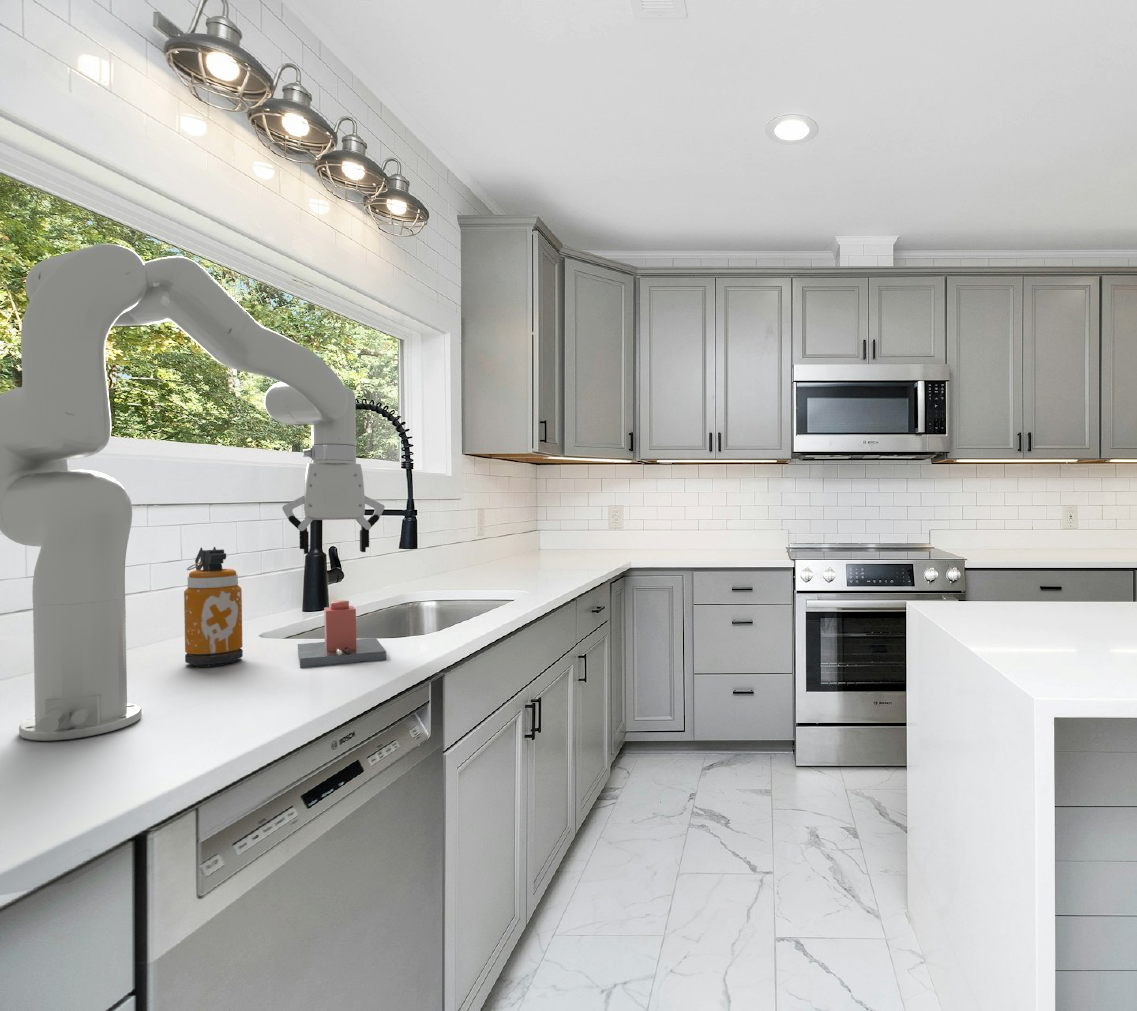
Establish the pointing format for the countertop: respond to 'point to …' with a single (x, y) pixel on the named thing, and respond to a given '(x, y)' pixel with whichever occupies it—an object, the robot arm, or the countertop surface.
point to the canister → (212, 612)
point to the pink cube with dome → (340, 626)
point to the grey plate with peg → (340, 653)
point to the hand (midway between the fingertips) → (334, 552)
